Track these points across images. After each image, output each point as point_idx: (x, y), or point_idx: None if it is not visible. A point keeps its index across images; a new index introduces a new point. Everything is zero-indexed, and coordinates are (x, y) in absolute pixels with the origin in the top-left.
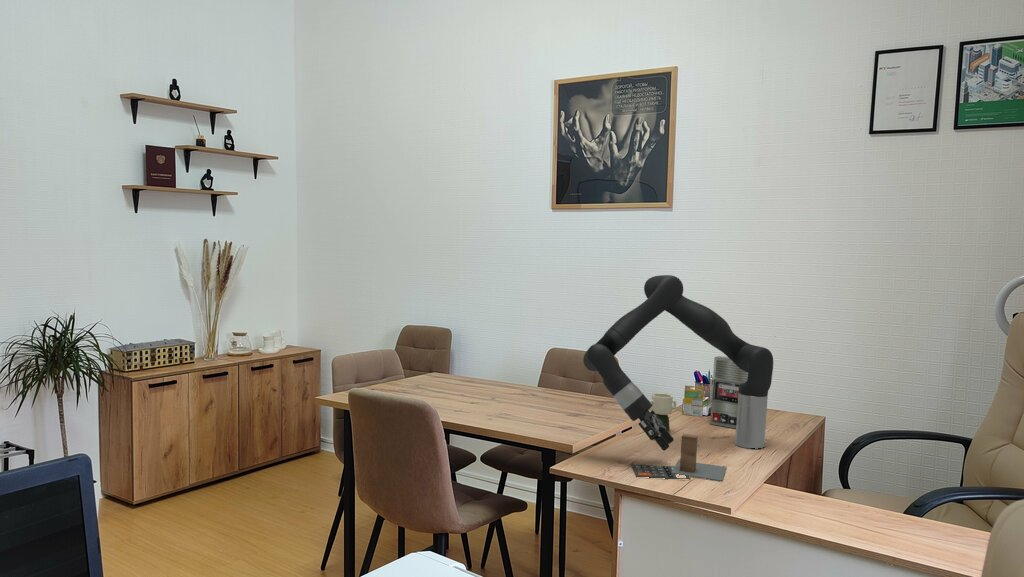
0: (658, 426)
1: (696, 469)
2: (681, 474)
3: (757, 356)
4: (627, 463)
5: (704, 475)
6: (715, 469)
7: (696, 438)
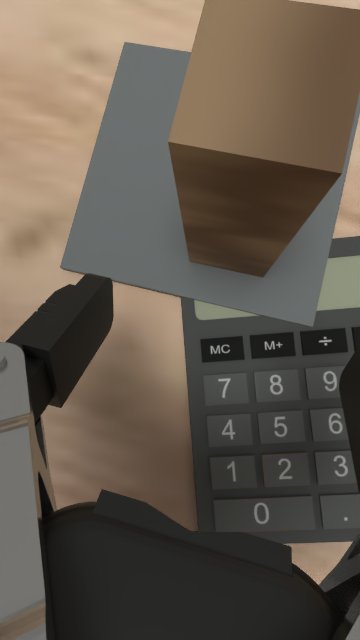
0: (40, 467)
1: None
2: (322, 274)
3: None
4: None
5: None
6: None
7: (327, 19)
